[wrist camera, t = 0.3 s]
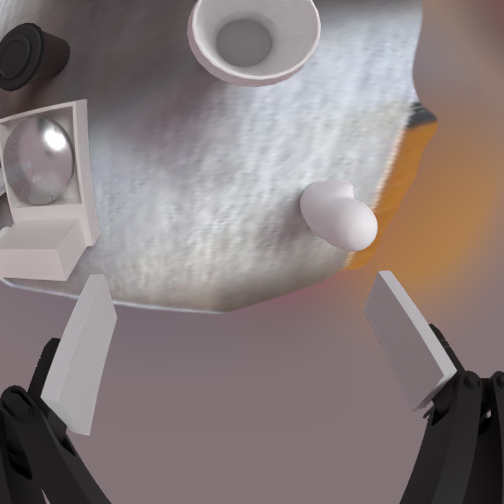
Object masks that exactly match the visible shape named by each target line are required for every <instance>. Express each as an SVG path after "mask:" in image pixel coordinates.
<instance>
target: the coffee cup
mask: <svg viewBox="0 0 504 504" xmlns="http://www.w3.org/2000/svg"><path fill="white" fill-rule="evenodd" d="M69 55H70V49H69V45H68V44H67V42H66V41H64V40H63V39H60V38H58V37H56V36H53V35H51V34H48V33H46V32H44V31H42V30H41V28H40V27H38V26H37V25H35V24H33V23H24V24H21V25H18V26H17V27H15V28H14V29H12V30H11V31H10V32H9V33H7V35H6V36H5V37H4V38H3V39H2V41H1V42H0V87H1V88H2V89H3V90H7V91H14V90H18V89H20V88H22V87H23V86H25V85H26V84H27V83H29V82H32V81H35V80H38V79H41V78H45V77H48V76H52V75H55V74H57V73H59V72H60V71H61V70H62V69H63V68H64V67H65V65H66V64H67V62H68V59H69Z"/></svg>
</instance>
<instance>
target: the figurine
mask: <svg viewBox="0 0 504 504" xmlns="http://www.w3.org/2000/svg"><path fill="white" fill-rule="evenodd" d="M300 208H301V212H302V215H303V218H304V220H305V222H306V223H307V225H308V226H309V228H310V229H311V230H312V231H313V232H314V233H315V234H316V235H318V236H319V237H321V238H322V239H324V240H326V241H327V242H328V243H330V244H331V245H333V246H335V247H337V248H339V249H342V250H345V251H360V250H363V249H365V248H366V247H368V246H369V245H370V244H371V243H372V242H373V240H374V239H375V236H376V234H377V220H376V218H375V216H374V214H373V212H372V211H371V210H370V208H369V207H368V206H367V205H365V204H363V203H362V202H359V201H357V200H355V198H354V192H353V186H352V184H350V183H349V182H346V181H342V180H326V181H318V182H315V183H312V184H311V185H309V186H308V187H307V188H306V189H305V190H304V191H303V193H302V195H301V199H300Z"/></svg>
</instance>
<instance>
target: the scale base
mask: <svg viewBox="0 0 504 504" xmlns="http://www.w3.org/2000/svg"><path fill="white" fill-rule="evenodd" d="M38 116H43V117H48V118H51V119H53V120H55V121H56V122H58V123H59V124H60V125H61V126H62V127H63V128H64V129H65V131H66V132H67V134H68V136H69V138H70V140H71V142H72V146H73V149H74V158H75V164H74V172H73V175H72V179H71V181H70V183H69V185H68V187H67V188H66V189H65V191H64V192H63V193H62V194H61V195H60V196H58V197H57V198H56V199H55V200H53V201H51V202H49V203H46V204H32V203H29V202H27V201H25V200H23V199H22V198H20V197H19V196H18V195H17V194H16V193H15V192H14V190H13V189H12V188H11V186H10V184H9V182H8V180H7V178H6V174H5V170H4V164H3V155H4V148H5V144H6V141H7V139H8V137H9V135H10V133H11V132H12V130H13V129H14V128H15V127H16V126H17V125H18V124H19V123H21V122H23V121H24V120H27V119H30V118H33V117H38ZM0 159H1V166H2V172H3V177H4V183H5V188H6V193H7V197H8V202H9V206H10V210H11V214H12V218H13V222H14V224H13V225H12V226H11V227H3V228H2V229H1V230H0V277H6V278H21V279H38V280H57V281H67V279H68V277H69V276H70V274H71V272H72V270H73V269H74V267H75V265H76V264H77V262H78V260H79V259H80V257H81V255H82V254H83V252H84V251H85V249H86V247H87V246H94V244H95V242H96V241H97V239H98V238H99V236H100V229H99V223H98V217H97V211H96V204H95V197H94V190H93V182H92V173H91V164H90V152H89V139H88V120H87V99H83V100H77V101H71V102H66V103H61V104H56V105H51V106H46V107H42V108H38V109H34V110H30V111H26V112H22V113H18V114H15V115H11V116H8V117H5V118H2V119H0Z"/></svg>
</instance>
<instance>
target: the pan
mask: <svg viewBox="0 0 504 504" xmlns="http://www.w3.org/2000/svg"><path fill="white" fill-rule="evenodd" d="M3 164H4V170H5V174H6V178H7V180H8V182H9V184H10V186H11V188H12V189H13V190H14V192H15V193H16V194H17V195H18V196H19V197H20V198H22V199H23V200H25V201H27V202H29V203H32V204H46V203H49V202H51V201H53V200H55V199H56V198H57V197H58V196H60V195H61V194H62V193H63V192H64V191H65V189H66V188H67V187H68V185H69V183H70V181H71V179H72V175H73V172H74V164H75V158H74V149H73V146H72V142H71V140H70V138H69V136H68V134H67V132H66V131H65V129H64V128H63V127H62V126H61V125H60V124H59V123H58V122H56V121H55V120H53V119H51V118H48V117H43V116H38V117H33V118H30V119H27V120H24V121H23V122H21V123H19V124H18V125H17V126H16V127H15V128H14V129H13V130H12V132H11V133H10V135H9V137H8V139H7V141H6V144H5V148H4V155H3Z"/></svg>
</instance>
